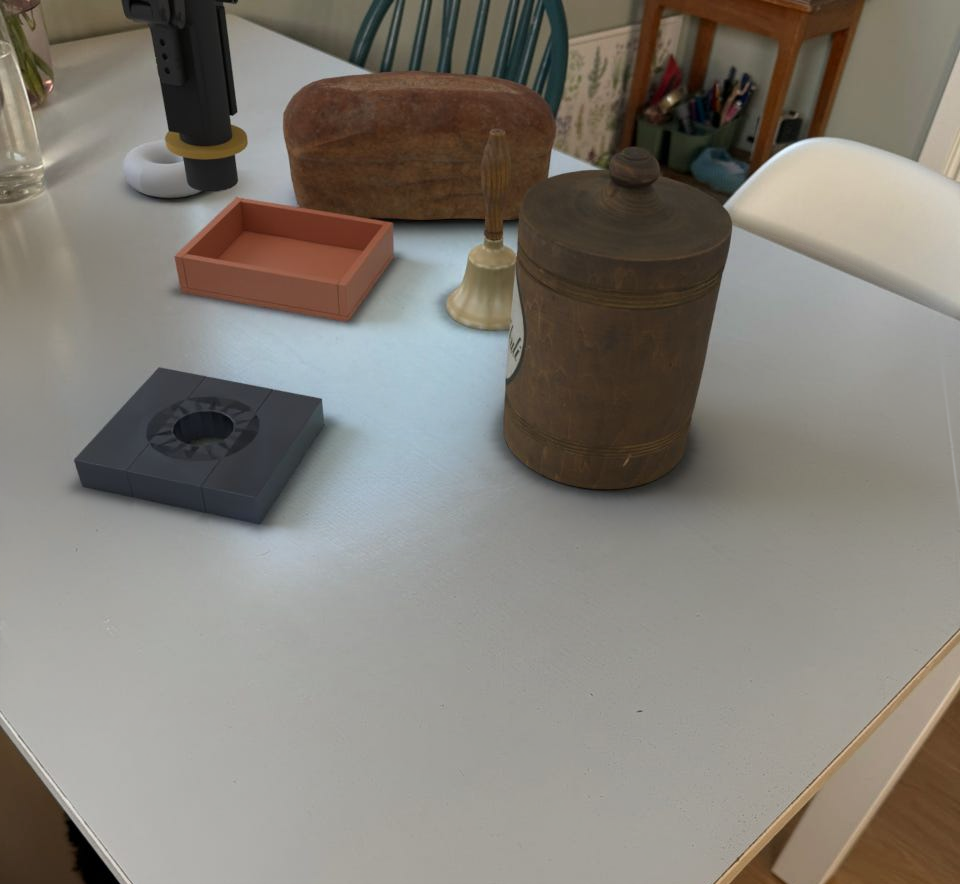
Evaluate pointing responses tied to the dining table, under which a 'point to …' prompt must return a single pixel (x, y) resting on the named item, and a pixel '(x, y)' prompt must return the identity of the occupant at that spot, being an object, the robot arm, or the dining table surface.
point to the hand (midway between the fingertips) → (203, 120)
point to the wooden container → (611, 321)
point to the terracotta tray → (287, 258)
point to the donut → (157, 171)
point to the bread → (412, 143)
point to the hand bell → (489, 251)
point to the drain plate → (203, 468)
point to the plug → (209, 112)
